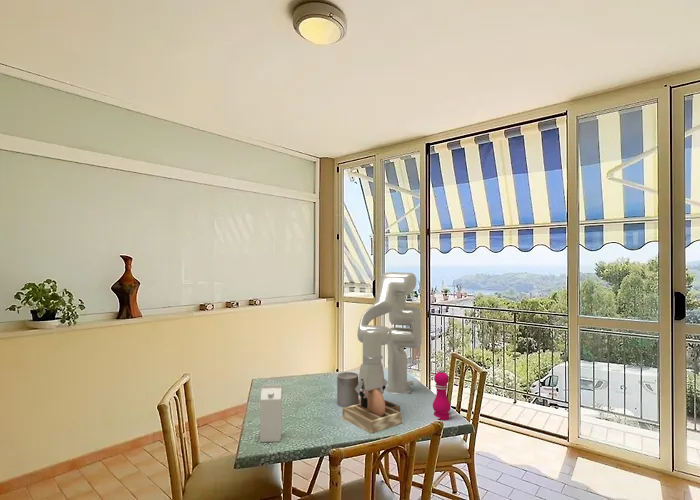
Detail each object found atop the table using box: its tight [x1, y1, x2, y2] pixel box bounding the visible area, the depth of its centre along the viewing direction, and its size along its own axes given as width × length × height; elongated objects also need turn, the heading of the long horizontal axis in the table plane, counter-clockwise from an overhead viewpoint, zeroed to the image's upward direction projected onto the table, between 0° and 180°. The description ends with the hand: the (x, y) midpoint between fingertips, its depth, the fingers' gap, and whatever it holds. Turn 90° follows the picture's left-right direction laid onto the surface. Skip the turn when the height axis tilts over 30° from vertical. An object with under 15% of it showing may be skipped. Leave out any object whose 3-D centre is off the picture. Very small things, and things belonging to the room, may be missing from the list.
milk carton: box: [259, 384, 283, 443], centre depth 146 cm, size 7×7×19 cm
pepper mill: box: [432, 368, 451, 421], centre depth 166 cm, size 7×7×20 cm
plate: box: [359, 389, 386, 417], centre depth 159 cm, size 2×13×13 cm, turn 37°
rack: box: [342, 403, 403, 434], centre depth 159 cm, size 16×18×5 cm
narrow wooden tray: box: [384, 399, 401, 412], centre depth 173 cm, size 6×16×3 cm, turn 38°
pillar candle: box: [336, 371, 360, 408], centre depth 178 cm, size 10×10×15 cm
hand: (371, 404), depth 159 cm, fingers open, 7 cm apart
